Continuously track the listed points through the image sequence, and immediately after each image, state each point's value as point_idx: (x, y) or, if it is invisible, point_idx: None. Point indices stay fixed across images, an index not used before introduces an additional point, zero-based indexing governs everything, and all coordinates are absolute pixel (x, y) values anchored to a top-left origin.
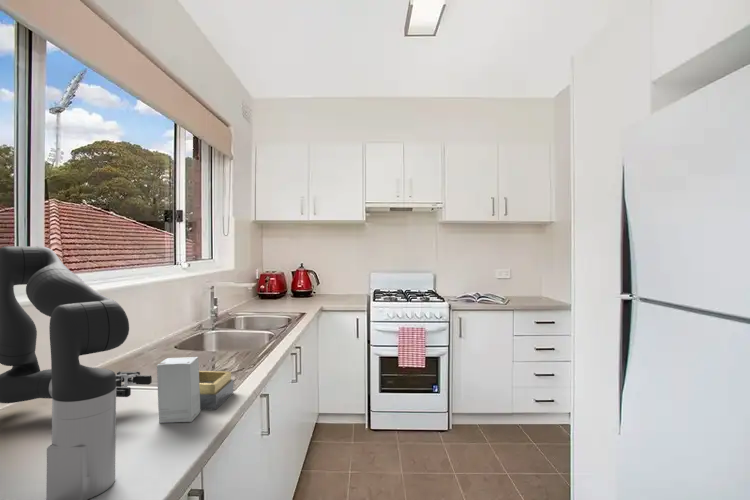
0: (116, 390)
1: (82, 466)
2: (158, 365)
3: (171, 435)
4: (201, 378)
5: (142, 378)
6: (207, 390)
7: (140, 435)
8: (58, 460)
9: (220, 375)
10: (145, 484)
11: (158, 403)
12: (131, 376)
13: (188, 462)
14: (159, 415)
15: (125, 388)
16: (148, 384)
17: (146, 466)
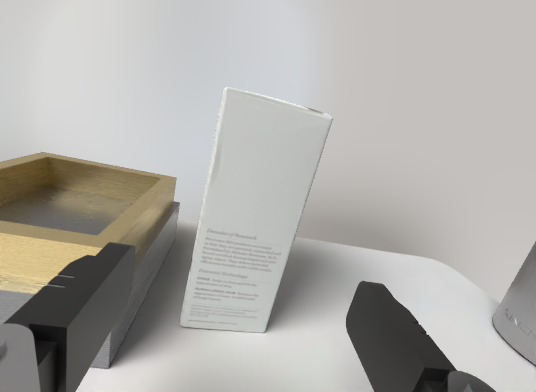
0: (436, 346)
1: None
2: (330, 118)
3: (322, 286)
4: None
5: (104, 298)
6: (168, 201)
7: (354, 350)
8: None
9: (32, 172)
10: (454, 280)
11: (283, 272)
12: (39, 386)
13: (381, 253)
14: (271, 308)
15: (389, 295)
16: (124, 304)
17: (430, 291)
